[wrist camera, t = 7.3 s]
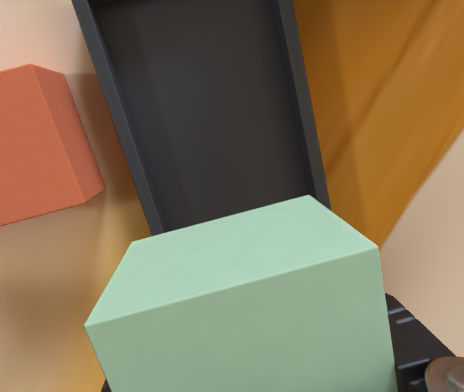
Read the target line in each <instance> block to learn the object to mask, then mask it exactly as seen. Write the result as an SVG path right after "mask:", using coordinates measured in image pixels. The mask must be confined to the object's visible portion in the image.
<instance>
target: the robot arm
mask: <svg viewBox="0 0 464 392" xmlns="http://www.w3.org/2000/svg"><path fill="white" fill-rule="evenodd" d="M385 298H386V305H387V312H388V319H389V326H390V333H391V340H392V347H393V354H394V361H395V362H394V365H395V372H396V379H397V386H398V392H464V358H463V357H456V356H455V355H454V354H453V353H452V352H451V351H450V350H449V349H448V348H447V347H446V346H445V345H444V344H443V343H442V342H441V341H440V340H439V339H438V338H436V337H435V336H434V335H433V334H432V333H431V332H430V331H429V330H428V329H427V328H426V327H425V326H424V325H423V324H422V323H421V322H420V321H418V320H417V319H415V317H414V316H413V315H412V314H411V313H410V312H409V311H408V310H406V309H405V307H404V306H403V305H402V304H401V303H399V301H397V300H396V299H395V298H394V297H393V296H391V295H389V294H387V293H385ZM101 392H112V391H111V389H110V387H109V384H108V382H107V380H106V379H105V382H104V384H103V387H102V390H101Z"/></svg>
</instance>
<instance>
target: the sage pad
mask: <svg viewBox="0 0 464 392" xmlns="http://www.w3.org/2000/svg"><path fill="white" fill-rule="evenodd" d="M84 328H85V331H86V333H87V335H88V338H89V340H90V342H91V345H92V347H93V349H94V352H95V354H96V356H97V359H98V361H99V363H100V366H101V368H102V370H103V373H104V375H105V377H106V380H107V382H108V384H109V387H110V389H111V391H112V392H398V386H397V379H396V372H395V365H394V362H395V361H394V354H393V347H392V340H391V333H390V326H389V319H388V312H387V305H386V298H385V291H384V285H383V278H382V270H381V263H380V256H379V249H378V246H377V245H376V244H374V243H373V242H372V241H370V240H369V239H368V238H366V237H365V236H364V235H362V234H361V233H360V232H358V231H357V230H356V229H354V228H353V227H352V226H350V225H349V224H348V223H346V222H345V221H344V220H342V219H341V218H340V217H338V216H337V215H335V214H334V213H333V212H331V211H330V210H329V209H327V208H326V207H325V206H323V205H322V204H321V203H319V202H318V201H317V200H315V199H314V198H313V197H311V196H310V195H306V196H302V197H299V198H295V199H291V200H287V201H284V202H280V203H276V204H272V205H268V206H265V207H261V208H257V209H253V210H250V211H246V212H242V213H238V214H235V215H231V216H227V217H223V218H220V219H216V220H212V221H208V222H204V223H201V224H197V225H193V226H189V227H186V228H182V229H178V230H174V231H171V232H167V233H163V234H159V235H155V236H152V237H148V238H144V239H140V240H137V241H133V242H131V244H130V246H129V248H128V249H127V251H126V253H125V255H124V256H123V258H122V260H121V262H120V263H119V265H118V267H117V268H116V270H115V272H114V274H113V275H112V277H111V279H110V281H109V282H108V284H107V286H106V288H105V289H104V291H103V293H102V295H101V296H100V298H99V300H98V301H97V303H96V305H95V307H94V308H93V310H92V312H91V314H90V315H89V317H88V319H87V321H86V322H85V324H84Z"/></svg>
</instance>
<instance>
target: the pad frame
mask: <svg viewBox="0 0 464 392" xmlns="http://www.w3.org/2000/svg"><path fill="white" fill-rule="evenodd" d="M72 3H73V6H74V9H75V12H76V15H77V18H78V21H79V24H80V27H81V30H82V32H83V35H84V38H85V41H86V44H87V47H88V50H89V53H90V56H91V59H92V62H93V65H94V67H95V70H96V73H97V76H98V79H99V82H100V85H101V88H102V91H103V94H104V97H105V100H106V103H107V105H108V108H109V111H110V114H111V117H112V120H113V123H114V126H115V129H116V132H117V135H118V138H119V140H120V143H121V146H122V149H123V152H124V155H125V158H126V161H127V164H128V167H129V170H130V173H131V175H132V178H133V181H134V184H135V187H136V190H137V193H138V196H139V199H140V202H141V205H142V208H143V210H144V213H145V216H146V219H147V222H148V225H149V228H150V231H151V234H152V236H155V235H159V234H163V233H167V232H171V231H174V230H178V229H182V228H186V227H189V226H193V225H197V224H201V223H204V222H208V221H212V220H216V219H220V218H223V217H227V216H231V215H235V214H238V213H242V212H246V211H250V210H253V209H257V208H261V207H265V206H268V205H272V204H276V203H280V202H284V201H287V200H291V199H295V198H299V197H302V196H306V195H310V196H311V197H313V198H314V199H315V200H317V201H318V202H319V203H321V204H322V205H323V206H325V207H326V208H327V209H329V210H330V211H331V207H330V201H329V196H328V191H327V185H326V180H325V174H324V169H323V163H322V158H321V153H320V147H319V142H318V136H317V131H316V125H315V120H314V115H313V109H312V104H311V98H310V93H309V87H308V82H307V77H306V71H305V66H304V60H303V55H302V50H301V44H300V39H299V33H298V28H297V22H296V17H295V12H294V6H293V1H292V0H72Z"/></svg>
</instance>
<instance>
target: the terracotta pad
mask: <svg viewBox="0 0 464 392" xmlns="http://www.w3.org/2000/svg"><path fill="white" fill-rule="evenodd" d="M104 189H105V185H104V183H103V180H102V177H101V174H100V172H99V169H98V166H97V163H96V161H95V158H94V155H93V153H92V150H91V147H90V144H89V142H88V139H87V136H86V134H85V131H84V128H83V125H82V123H81V120H80V117H79V115H78V112H77V109H76V106H75V104H74V101H73V98H72V95H71V93H70V90H69V87H68V85H67V82H66V79H65V76H64V74H62V73H58V72H55V71H52V70H49V69H46V68H42V67H39V66H36V65H33V64H27V65H23V66H19V67H16V68H12V69H8V70H4V71H0V226H4V225H8V224H11V223H15V222H19V221H22V220H26V219H30V218H34V217H37V216H41V215H45V214H48V213H52V212H56V211H60V210H63V209H67V208H71V207H74V206H78V205H82V204H85V203H86V202H87V201H89V200H90V199H92V198H93V197H94V196H96V195H97V194H98V193H100V192H101V191H102V190H104Z"/></svg>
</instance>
